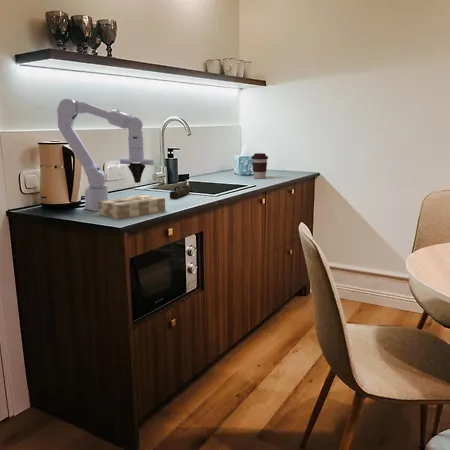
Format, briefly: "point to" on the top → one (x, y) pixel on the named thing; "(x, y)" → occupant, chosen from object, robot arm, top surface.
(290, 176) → the top surface
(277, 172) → the top surface
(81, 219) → the top surface
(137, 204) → the twin-bore block
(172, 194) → the hand tool
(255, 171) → the coffee cup
